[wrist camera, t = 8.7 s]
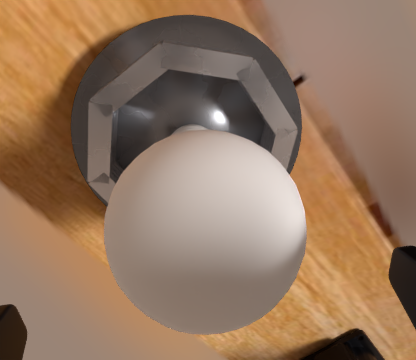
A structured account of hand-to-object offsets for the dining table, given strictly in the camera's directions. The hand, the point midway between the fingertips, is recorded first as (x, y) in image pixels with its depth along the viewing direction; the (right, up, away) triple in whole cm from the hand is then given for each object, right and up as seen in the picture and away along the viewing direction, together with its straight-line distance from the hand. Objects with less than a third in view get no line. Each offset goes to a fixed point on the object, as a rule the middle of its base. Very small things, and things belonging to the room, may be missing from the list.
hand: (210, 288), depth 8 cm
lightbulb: (-1, +5, +10) cm, 11 cm away
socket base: (-1, +5, +11) cm, 12 cm away
